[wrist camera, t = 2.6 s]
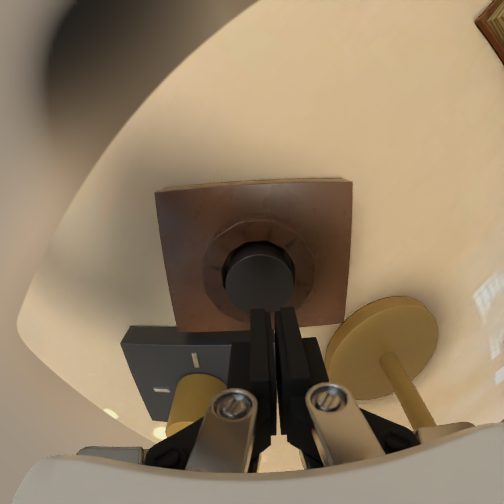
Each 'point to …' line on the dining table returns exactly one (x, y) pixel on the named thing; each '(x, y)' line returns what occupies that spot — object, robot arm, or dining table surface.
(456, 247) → the dining table surface
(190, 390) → the dimmer knob
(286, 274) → the power button
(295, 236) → the switch block
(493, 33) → the diary
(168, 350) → the dimmer panel
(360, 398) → the lamp
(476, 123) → the dining table surface
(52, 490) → the robot arm
